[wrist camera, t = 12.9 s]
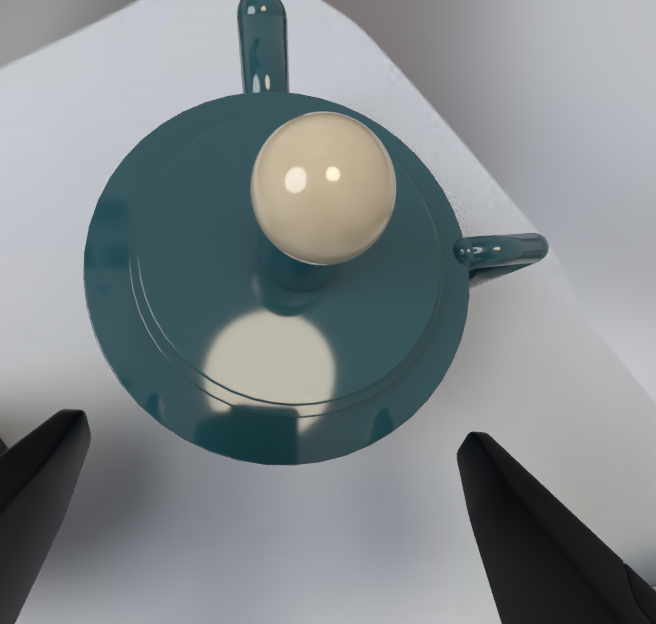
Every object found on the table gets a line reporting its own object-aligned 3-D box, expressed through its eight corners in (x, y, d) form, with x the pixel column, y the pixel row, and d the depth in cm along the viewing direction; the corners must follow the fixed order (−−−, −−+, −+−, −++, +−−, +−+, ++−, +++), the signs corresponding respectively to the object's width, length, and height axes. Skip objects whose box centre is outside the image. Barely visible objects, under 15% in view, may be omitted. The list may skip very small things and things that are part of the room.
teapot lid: (346, 462, 11) (442, 550, 6) (71, 295, 10) (-135, 203, 5) (474, 226, 13) (633, 119, 8) (255, 73, 13) (258, -163, 7)
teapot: (473, 400, 21) (603, 414, 13) (155, 453, 17) (79, 516, 10) (420, 108, 23) (504, -23, 16) (132, 102, 20) (57, -71, 12)
